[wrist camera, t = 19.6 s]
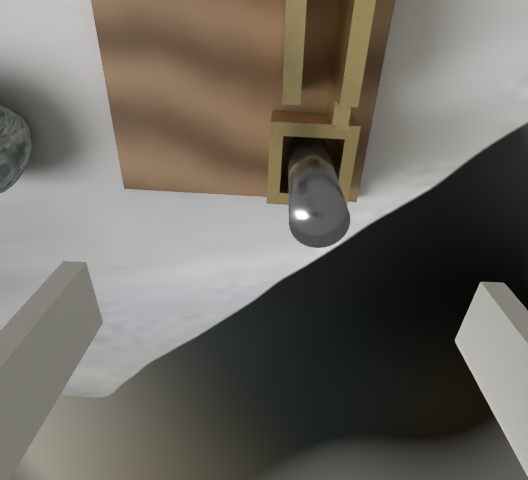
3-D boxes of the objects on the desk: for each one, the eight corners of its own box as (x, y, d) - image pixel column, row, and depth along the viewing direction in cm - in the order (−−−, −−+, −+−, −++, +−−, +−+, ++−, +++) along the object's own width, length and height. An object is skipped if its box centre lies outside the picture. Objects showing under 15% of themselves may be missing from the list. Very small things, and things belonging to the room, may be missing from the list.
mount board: (73, -150, 23) (63, -158, 22) (416, -138, 23) (422, -146, 22) (129, 183, 35) (124, 188, 34) (354, 196, 34) (356, 201, 33)
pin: (289, 131, 30) (291, 192, 19) (329, 133, 30) (354, 196, 19) (286, 169, 32) (287, 245, 21) (324, 171, 32) (344, 249, 21)
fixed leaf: (284, -139, 22) (284, -192, 17) (392, -135, 22) (427, -188, 16) (268, 184, 33) (265, 215, 28) (340, 188, 33) (350, 220, 27)
